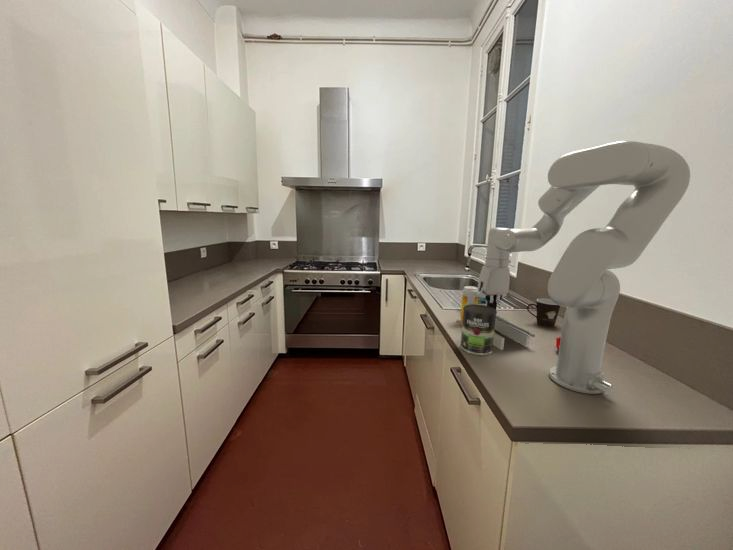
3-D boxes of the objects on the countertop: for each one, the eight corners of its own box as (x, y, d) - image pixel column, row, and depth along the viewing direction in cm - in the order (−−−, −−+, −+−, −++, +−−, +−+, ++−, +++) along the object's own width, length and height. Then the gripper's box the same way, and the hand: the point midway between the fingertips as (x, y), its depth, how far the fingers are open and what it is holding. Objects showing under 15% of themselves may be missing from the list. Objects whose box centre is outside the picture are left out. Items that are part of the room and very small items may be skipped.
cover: (529, 335, 101) (531, 332, 101) (504, 323, 97) (506, 320, 97) (493, 316, 119) (494, 313, 119) (470, 305, 116) (472, 303, 116)
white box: (533, 348, 100) (535, 334, 99) (503, 352, 97) (505, 337, 96) (490, 324, 122) (491, 312, 121) (465, 326, 119) (466, 314, 118)
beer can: (473, 319, 126) (476, 286, 123) (477, 325, 120) (480, 289, 117) (459, 319, 127) (461, 285, 124) (462, 324, 121) (465, 289, 118)
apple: (570, 332, 101) (556, 327, 98) (589, 343, 95) (575, 338, 92) (558, 348, 103) (545, 344, 99) (576, 360, 97) (563, 356, 93)
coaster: (483, 325, 121) (483, 324, 120) (463, 327, 119) (463, 326, 118) (471, 318, 129) (471, 317, 129) (452, 319, 127) (452, 319, 127)
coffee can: (491, 358, 93) (496, 315, 90) (458, 351, 97) (461, 310, 94) (493, 345, 102) (497, 306, 99) (462, 340, 106) (465, 302, 104)
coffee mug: (557, 323, 124) (561, 300, 122) (557, 330, 117) (561, 306, 115) (526, 318, 130) (529, 296, 128) (524, 324, 123) (527, 301, 121)
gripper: (507, 260, 109) (501, 307, 113) (471, 261, 105) (467, 310, 109) (522, 264, 102) (515, 314, 106) (484, 265, 98) (479, 317, 102)
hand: (490, 312), depth 108 cm, fingers closed
